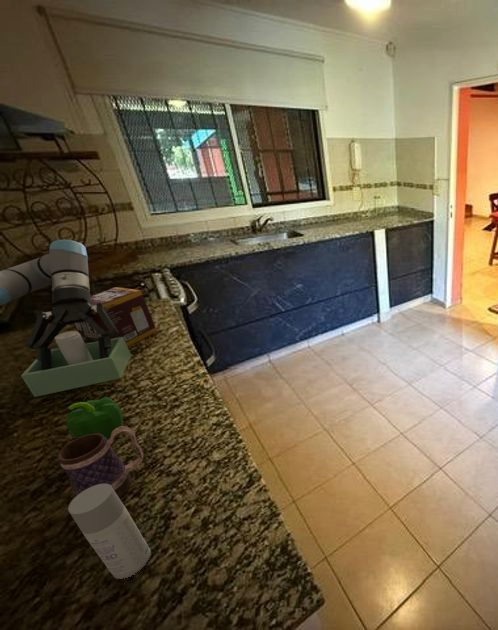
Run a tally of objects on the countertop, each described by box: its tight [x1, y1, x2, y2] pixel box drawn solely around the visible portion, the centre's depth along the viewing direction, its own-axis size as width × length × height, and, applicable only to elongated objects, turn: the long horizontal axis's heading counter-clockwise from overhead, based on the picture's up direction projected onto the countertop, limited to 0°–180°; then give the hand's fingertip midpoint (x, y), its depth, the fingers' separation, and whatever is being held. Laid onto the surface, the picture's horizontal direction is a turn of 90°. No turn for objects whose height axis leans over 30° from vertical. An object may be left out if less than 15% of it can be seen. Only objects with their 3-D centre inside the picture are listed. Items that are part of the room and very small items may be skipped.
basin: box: [21, 337, 132, 398], centre depth 93 cm, size 18×13×7 cm
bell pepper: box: [66, 396, 124, 440], centre depth 73 cm, size 8×8×10 cm
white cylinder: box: [54, 330, 93, 365], centre depth 92 cm, size 5×5×12 cm
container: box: [67, 484, 152, 580], centre depth 49 cm, size 5×5×15 cm
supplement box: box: [72, 286, 158, 348], centre depth 108 cm, size 10×15×16 cm
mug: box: [57, 425, 144, 499], centre depth 61 cm, size 10×7×12 cm
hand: (76, 366), depth 91 cm, fingers open, 11 cm apart
